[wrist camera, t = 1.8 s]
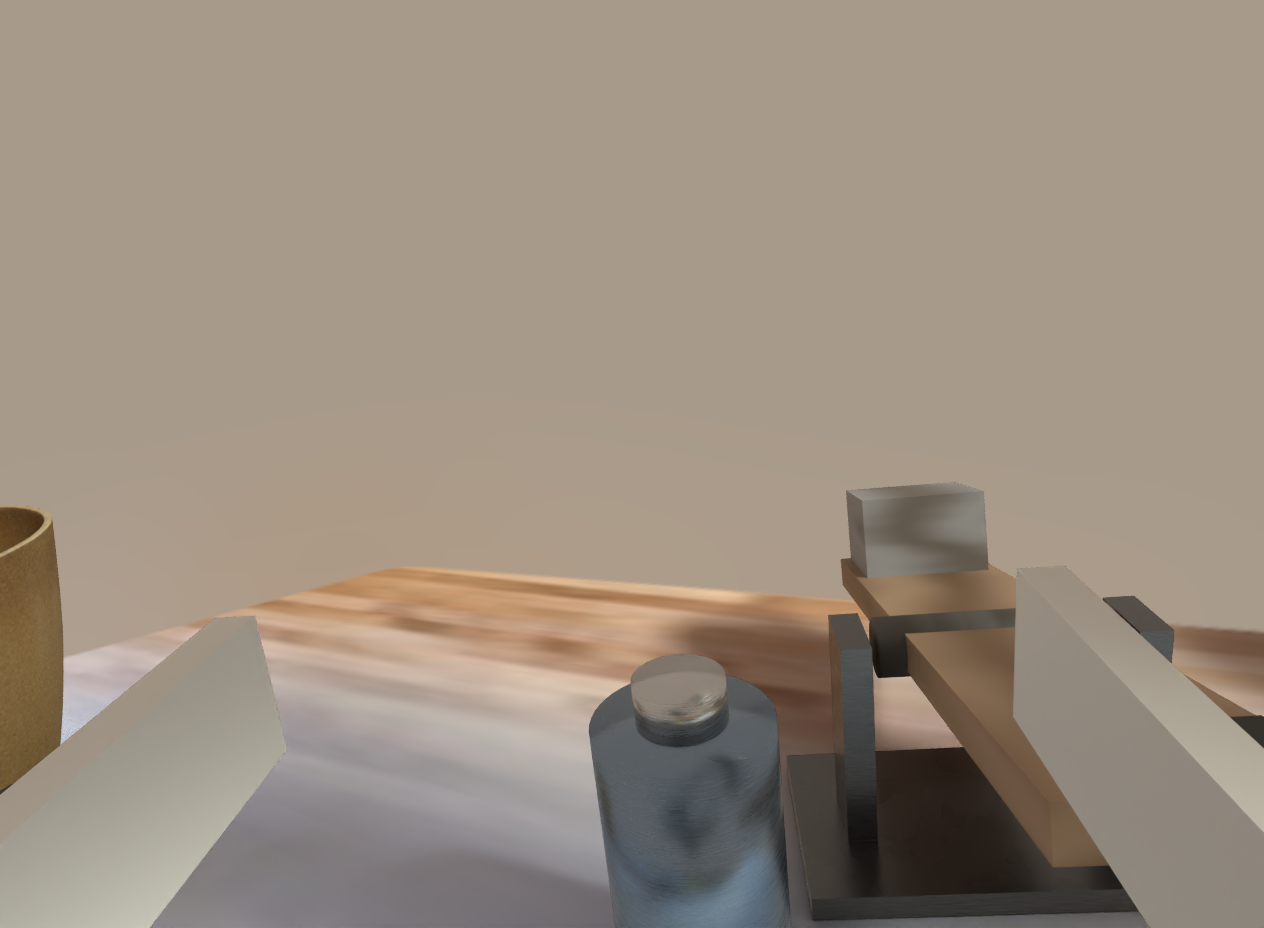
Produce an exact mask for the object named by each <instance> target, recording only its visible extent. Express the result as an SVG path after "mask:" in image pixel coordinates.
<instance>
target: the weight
mask: <svg viewBox="0 0 1264 928" xmlns="http://www.w3.org/2000/svg"><path fill="white" fill-rule="evenodd" d="M589 736H590V743H591V751H592V758H593V765H594V773H595V780H596V787H597V795H598V802H599V809H600V817H601V824H602V831H603V839H604V846H605V854H606V861H607V868H608V876H609V883H610V890H611V898H612V905H613V912H614V920H615V927H616V928H791V917H790V902H789V887H788V873H787V858H786V843H785V828H784V814H783V799H782V784H781V770H780V755H779V740H778V725H777V713H776V710H775V707H774V705H773V703H772V701H771V700H770V699H769V698H768V696H767V695H766V694H765V693H764V692H762V691H761V690H760V689H759V688H757V687H755V686H754V685H752V684H750V683H748V682H746V681H744V680H741V679H739V678H736V677H733V676H729V675H726V674H725V671H724V668H723V667H722V666H721V665H720V664H719V663H718V662H716V661H714V660H712V659H710V658H708V657H704V656H700V655H694V654H674V655H667V656H663V657H659V658H656V659H653V660H651V661H649V662H646V663H645V664H643V665H642V666H640V667H639V668H638V669H637V670H636V671H635V672H634V673H633V675H632V677H631V684H629V685H627V686H625V687H623V688H621V689H619V690H618V691H616V692H614V693H613V694H612V695H610V696H609V697H608V698H606V699H605V700H604V701H603V702H602V703H601V704H600V705H599V707H598V708H597V709H596V710H595V712H594V714H593V716H592V718H591V721H590V724H589Z"/></svg>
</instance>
